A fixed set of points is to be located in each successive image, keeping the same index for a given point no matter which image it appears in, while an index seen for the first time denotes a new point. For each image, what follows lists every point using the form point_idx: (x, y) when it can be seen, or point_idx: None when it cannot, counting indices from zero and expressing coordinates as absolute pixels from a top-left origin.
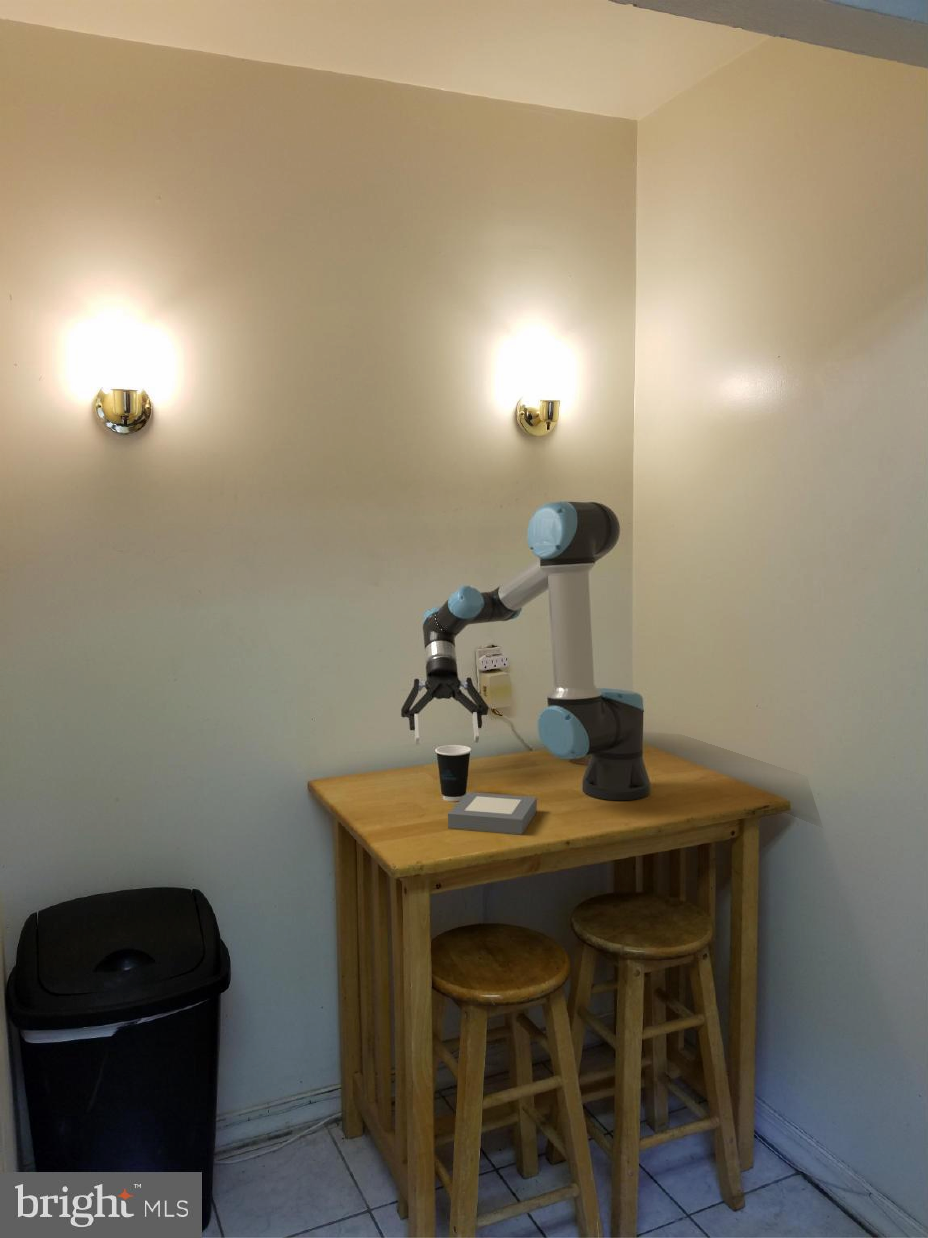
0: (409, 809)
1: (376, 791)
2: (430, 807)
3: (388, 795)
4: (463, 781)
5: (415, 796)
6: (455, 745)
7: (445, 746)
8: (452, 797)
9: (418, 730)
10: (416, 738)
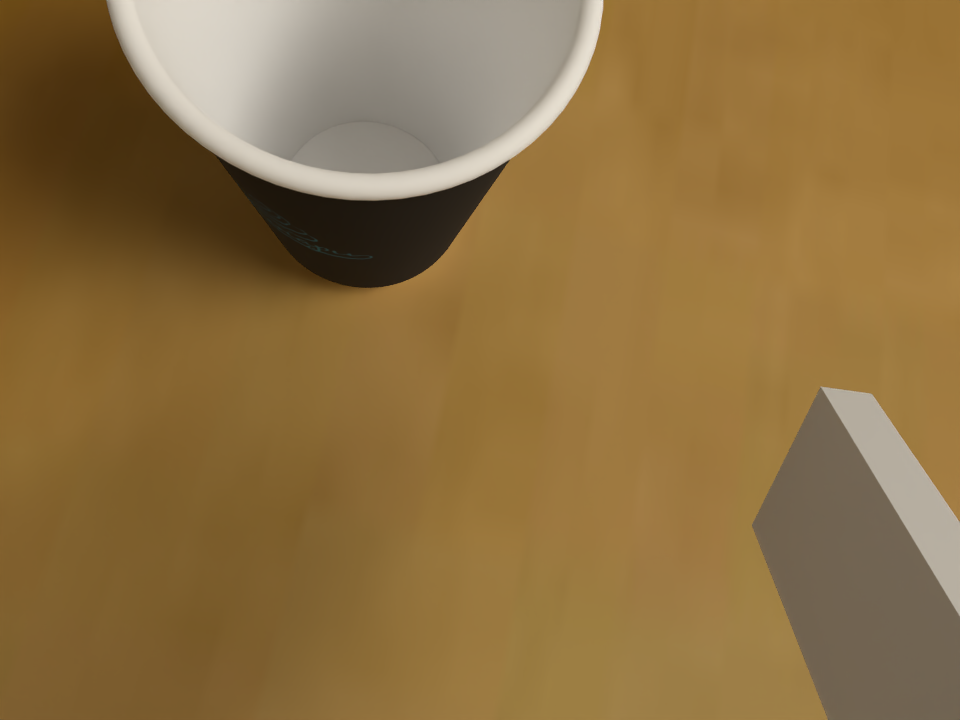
0: (714, 57)
1: None
2: None
3: None
4: (298, 38)
5: (639, 325)
6: (275, 159)
7: (427, 168)
8: (397, 117)
9: (883, 485)
10: (856, 397)
